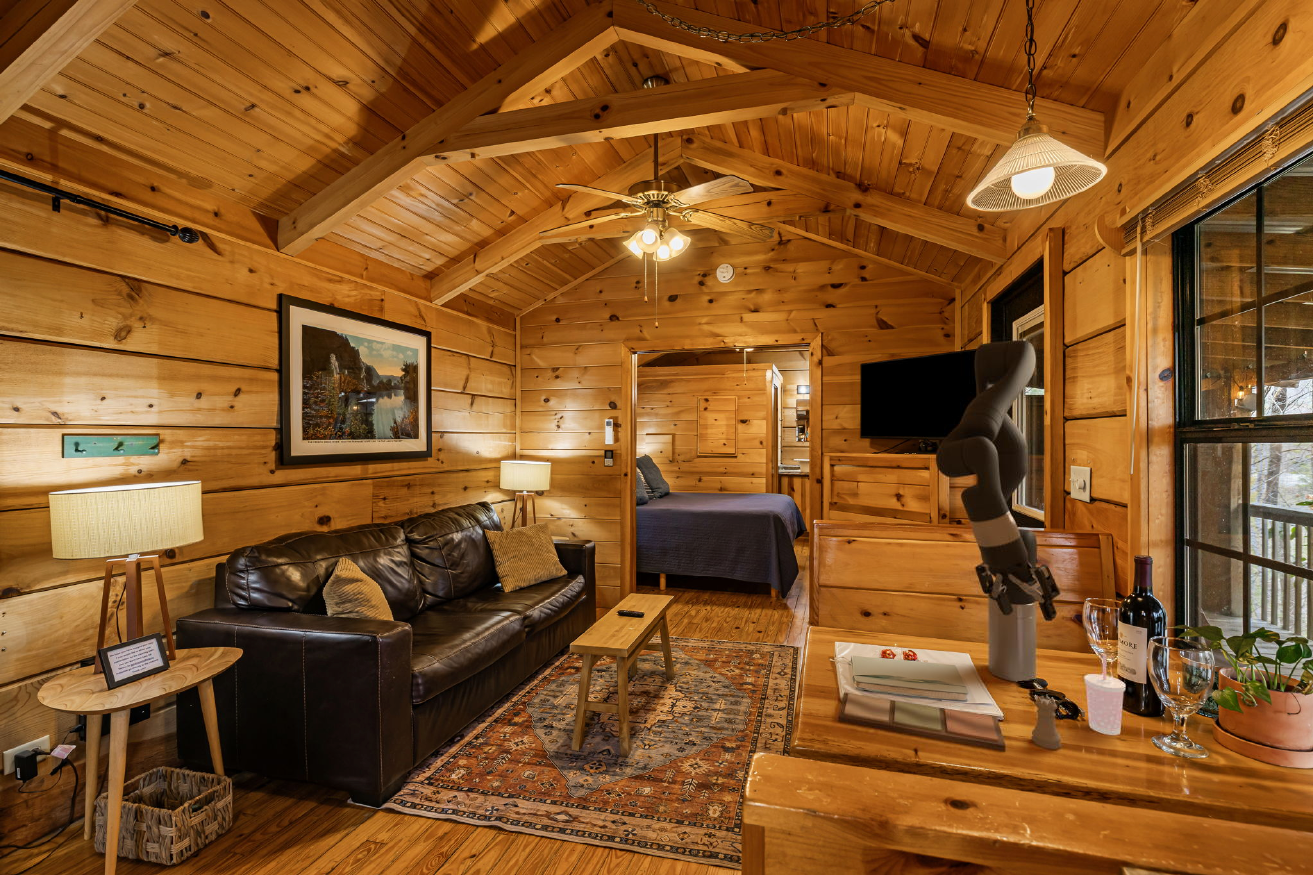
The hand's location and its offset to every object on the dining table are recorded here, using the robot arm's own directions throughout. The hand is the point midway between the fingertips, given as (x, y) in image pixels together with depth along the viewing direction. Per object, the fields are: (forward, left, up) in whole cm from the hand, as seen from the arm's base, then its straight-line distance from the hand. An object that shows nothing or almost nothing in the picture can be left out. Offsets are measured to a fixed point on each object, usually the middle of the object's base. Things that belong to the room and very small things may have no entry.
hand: (1029, 616), depth 112 cm
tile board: (+8, -20, -20) cm, 29 cm away
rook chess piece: (+8, +1, -20) cm, 22 cm away
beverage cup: (-2, +12, -20) cm, 24 cm away
